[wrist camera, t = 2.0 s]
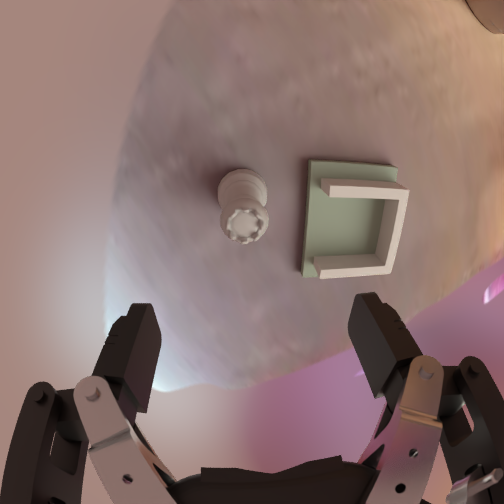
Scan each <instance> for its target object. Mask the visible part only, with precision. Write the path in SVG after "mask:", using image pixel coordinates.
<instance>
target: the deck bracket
mask: <svg viewBox="0 0 504 504" xmlns="http://www.w3.org/2000/svg"><path fill="white" fill-rule="evenodd" d="M397 171H398V168H397V167H395V166H392V165H383V164H373V163H362V162H349V161H333V160H311V159H309V161H308V182H307V200H306V215H305V229H304V241H303V253H302V264H301V275H302V277H303V278H305V277H319V279H325V278H340V277H354V276H368V275H380V274H391V271H392V267H393V263H394V260H395V256H396V252H397V248H398V244H399V240H400V235H401V231H402V226H403V221H404V217H405V211H406V206H407V201H408V195H409V190H408V189H407V188H405V187H403V186H401V185H400V184H398V183H396V178H397Z"/></svg>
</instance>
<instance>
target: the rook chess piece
mask: <svg viewBox="0 0 504 504" xmlns="http://www.w3.org/2000/svg"><path fill="white" fill-rule="evenodd" d="M218 202H219V204H220V206H221V209H222V210H223V211H222V214H221V216H220V225H221V228H222V230H223V232H224V234H226V235H227V236H228V237H229V238H230V239H232V240H233V241H237V242H240V244H248V242H251V241H257V240H258V239H259V238H260V237H261V236H262V235H263V234H264V233H265V231H266V229H267V227H268V221H269V216H268V214H267V211H266V209H265V207H264V206H265V204H266V202H267V187H266V185H265V182H264V180H263V179H262V178H261V177H260V176H259V175H258V173H255V172H253V171H251V170H249V169H237V170H234V171H232V172H229V173H228V174H227V175H226V176H225V177H223V178H222V180H221V182H220V184H219V186H218Z"/></svg>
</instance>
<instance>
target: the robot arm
mask: <svg viewBox="0 0 504 504" xmlns="http://www.w3.org/2000/svg"><path fill="white" fill-rule="evenodd" d="M466 1H467V3H468V5H469V6H470V8H471V10H472V11H473V13H474V14H475V16H476V17H477V18H478V20H479V21H480V22H481V23H482V24H483V25H484V26H485V27H486V28H487V29H488V30H489V31H491V32H492V33H495V34H504V0H466ZM348 333H349V336H350V339H351V341H352V343H353V346H354V348H355V351H356V353H357V355H358V358H359V360H360V363H361V365H362V367H363V370H364V372H365V375H366V377H367V380H368V382H369V385H370V387H371V390H372V393H373V395H374V398H375V399H376V398H379V397H383V396H385V398H386V403H385V404H384V407H383V410H382V412H381V415H380V418H379V420H378V423H377V425H376V428H375V430H374V433H373V435H372V437H371V440H370V442H369V444H368V446H367V447H366V449H365V450H364V452H363V453H362V455H361V457H360V459H359V460H358V462H357V463H354V462H346V461H342V457H341V455H339V456H335V457H330V458H325V459H320V460H314V461H309V462H306V463H303V464H300V465H298V466H295V467H293V468H290V469H287V470H284V471H281V472H278V473H273V474H270V473H263V472H255V471H249V470H244V469H239V468H204V467H201V474H196V475H192V476H189V477H186V478H184V479H181V480H179V481H177V480H176V479H175V478H174V476H173V475H172V473H171V472H170V471H169V470H168V468H167V467H166V466H165V465H164V464H163V462H162V461H161V460H160V459H159V457H158V456H157V454H156V453H155V451H154V450H153V448H152V447H151V445H150V444H149V442H148V440H147V439H146V437H145V436H144V434H143V432H142V431H141V429H140V427H139V426H138V424H137V422H136V421H135V419H136V414H137V412H141V413H147V408H148V403H149V398H150V393H151V388H152V383H153V379H154V374H155V370H156V365H157V361H158V357H159V352H160V348H161V340H162V339H161V331H160V328H159V325H158V322H157V319H156V315H155V312H154V309H153V306H152V304H150V303H133V304H132V305H131V306H130V309H129V311H128V313H127V316H121V317H120V318H119V319H118V320H117V321H116V322H115V323H114V324H113V325H112V327H111V330H110V332H109V334H108V335H109V336H107V339H106V341H105V345H104V346H103V349H102V351H101V353H100V356H99V358H98V361H97V363H96V366H95V368H94V371H93V373H92V376H89V377H86V378H84V379H82V380H81V381H80V382H79V383H78V384H77V385H76V387H75V388H74V389H67V390H59V391H56V390H55V389H54V388H53V387H52V386H51V385H50V384H49V383H47V382H38V383H36V384H34V385H33V386H32V387H31V388H30V389H29V390H28V392H27V395H26V398H25V400H24V403H23V406H22V409H21V411H20V414H19V417H18V420H17V423H16V427H15V430H14V433H13V437H12V440H11V444H10V448H9V452H8V456H7V461H6V465H5V470H4V475H3V480H2V487H1V494H0V504H81V494H82V485H83V476H84V469H85V462H86V456H87V450H88V444H89V441H90V444H91V448H90V449H89V456H90V459H91V461H92V463H93V465H94V467H95V470H96V472H97V474H98V476H99V478H100V480H101V481H102V483H103V485H104V487H105V489H106V491H107V493H108V494H109V496H110V498H111V500H112V501H113V503H114V504H431V503H429V502H427V501H425V500H423V499H422V496H423V493H424V491H425V488H426V485H427V482H428V479H429V476H430V473H431V470H432V467H433V463H434V460H435V456H436V453H437V449H438V445H439V441H440V444H441V447H442V450H443V453H444V457H445V460H446V463H447V467H448V470H449V473H450V477H451V480H452V485H453V486H452V488H451V491H450V493H449V494H448V495H447V497H446V503H447V504H504V400H503V398H502V396H501V394H500V392H499V390H498V388H497V386H496V384H495V382H494V381H493V379H492V377H491V375H490V373H489V371H488V370H487V368H486V366H485V365H484V363H483V362H482V361H481V360H480V359H478V358H476V357H472V356H468V357H465V358H464V359H463V360H462V361H461V363H460V364H459V366H442V365H441V364H440V363H439V362H438V361H437V360H436V359H435V358H433V357H430V356H427V355H423V354H422V352H421V350H420V349H419V347H418V345H417V344H416V342H415V340H414V339H413V337H412V336H411V334H410V332H409V331H408V329H406V326H405V324H404V323H403V321H401V318H400V316H399V315H398V313H397V312H396V310H394V309H393V308H392V307H391V306H389V305H388V304H387V303H382V302H381V300H380V299H379V297H378V295H377V294H376V293H375V292H370V293H360V294H357V295H356V296H355V299H354V302H353V306H352V310H351V314H350V318H349V321H348ZM464 404H466V406H467V408H468V411H469V413H470V415H471V418H472V420H473V422H474V430H473V432H472V430H471V428H470V425H469V423H468V420H467V418H466V415H465V413H464V411H463V408H462V406H463V405H464ZM54 433H55V437H54ZM53 437H54V441H53ZM52 442H53V446H52ZM51 446H52V450H51ZM50 450H51V455H50Z"/></svg>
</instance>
